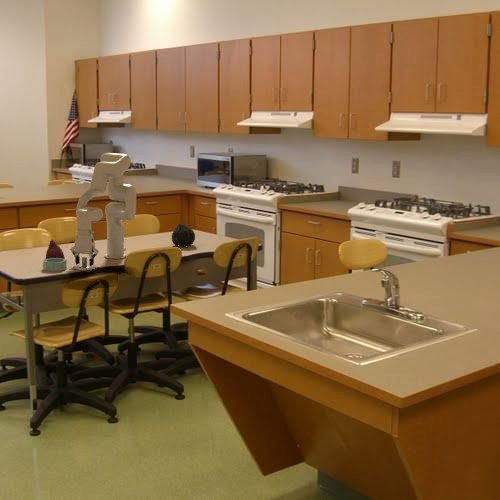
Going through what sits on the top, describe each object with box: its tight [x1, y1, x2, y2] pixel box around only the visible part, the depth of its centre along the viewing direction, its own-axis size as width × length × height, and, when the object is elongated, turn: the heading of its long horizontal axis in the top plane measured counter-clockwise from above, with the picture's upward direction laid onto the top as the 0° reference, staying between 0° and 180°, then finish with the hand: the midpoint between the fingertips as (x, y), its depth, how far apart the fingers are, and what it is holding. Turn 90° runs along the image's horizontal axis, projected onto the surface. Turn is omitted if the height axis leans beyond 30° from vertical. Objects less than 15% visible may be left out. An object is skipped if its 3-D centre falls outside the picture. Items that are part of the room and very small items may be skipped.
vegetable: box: [45, 239, 66, 260], centre depth 399 cm, size 10×10×15 cm
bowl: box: [42, 258, 67, 273], centre depth 385 cm, size 11×11×5 cm
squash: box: [171, 223, 196, 247], centre depth 459 cm, size 14×15×15 cm
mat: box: [68, 267, 93, 273], centre depth 389 cm, size 12×12×1 cm
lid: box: [72, 256, 97, 272], centre depth 389 cm, size 12×12×6 cm
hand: (84, 264), depth 389 cm, fingers open, 7 cm apart
